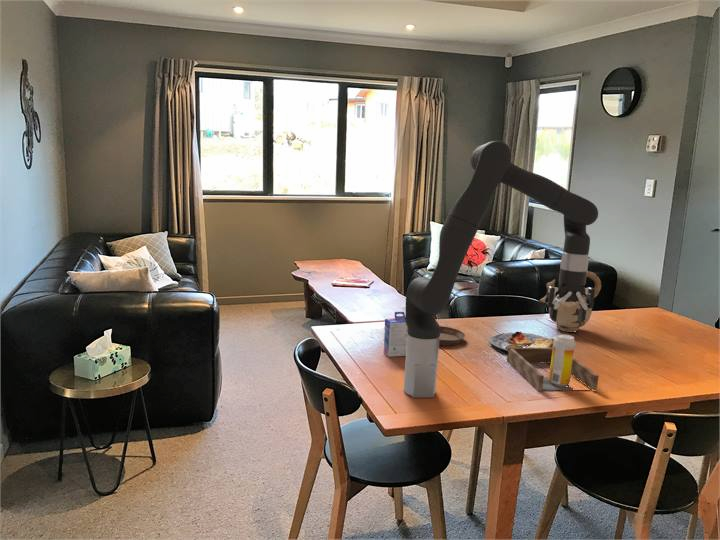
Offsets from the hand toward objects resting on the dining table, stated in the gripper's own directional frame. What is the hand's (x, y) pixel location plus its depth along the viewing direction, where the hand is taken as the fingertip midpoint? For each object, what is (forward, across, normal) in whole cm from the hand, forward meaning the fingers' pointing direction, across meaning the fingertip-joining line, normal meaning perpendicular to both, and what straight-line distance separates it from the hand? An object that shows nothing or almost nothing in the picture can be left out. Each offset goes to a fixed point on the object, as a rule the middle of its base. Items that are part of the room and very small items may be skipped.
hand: (567, 320), depth 175 cm
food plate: (+21, +3, +34) cm, 40 cm away
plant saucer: (+21, -26, +43) cm, 54 cm away
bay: (+20, 0, +7) cm, 21 cm away
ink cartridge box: (+21, -45, +27) cm, 56 cm away
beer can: (+20, 0, 0) cm, 20 cm away
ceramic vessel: (+20, +30, +57) cm, 68 cm away
